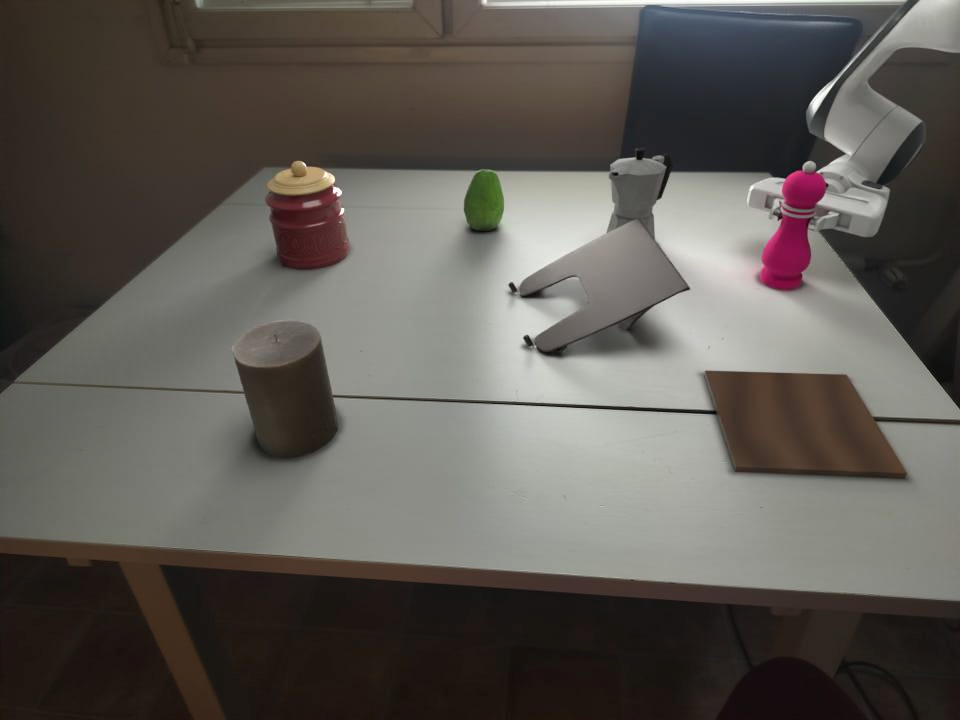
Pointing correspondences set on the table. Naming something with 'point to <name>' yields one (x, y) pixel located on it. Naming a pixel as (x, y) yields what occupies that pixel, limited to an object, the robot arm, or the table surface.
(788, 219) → the pepper mill
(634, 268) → the laptop tray
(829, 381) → the walnut board
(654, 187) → the coffeepot
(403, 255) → the table surface
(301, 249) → the kitchen canister
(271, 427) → the pillar candle
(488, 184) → the avocado
